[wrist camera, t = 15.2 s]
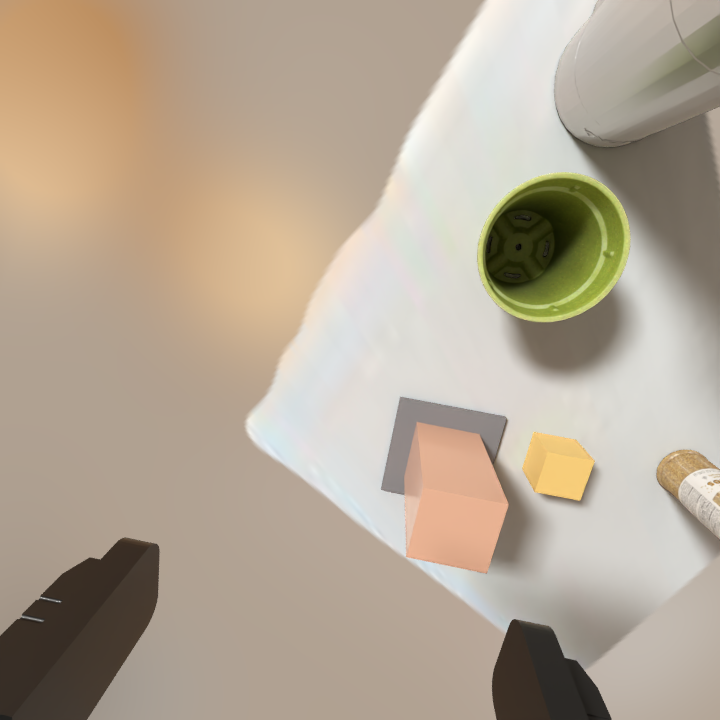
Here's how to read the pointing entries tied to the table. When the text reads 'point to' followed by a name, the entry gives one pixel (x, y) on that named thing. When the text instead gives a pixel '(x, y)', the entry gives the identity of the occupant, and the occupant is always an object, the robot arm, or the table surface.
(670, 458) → the spice jar
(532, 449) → the ochre block
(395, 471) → the gray mat
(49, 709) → the robot arm
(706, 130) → the table surface
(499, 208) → the plant pot
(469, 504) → the tall peach pillar
